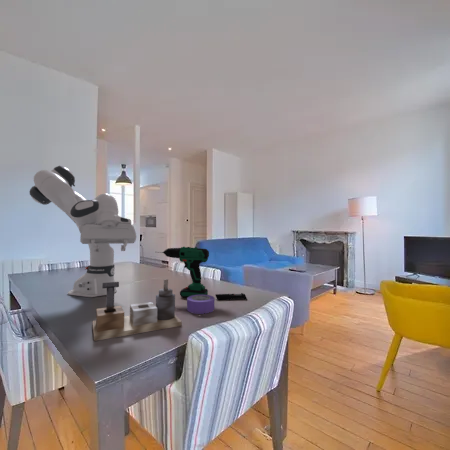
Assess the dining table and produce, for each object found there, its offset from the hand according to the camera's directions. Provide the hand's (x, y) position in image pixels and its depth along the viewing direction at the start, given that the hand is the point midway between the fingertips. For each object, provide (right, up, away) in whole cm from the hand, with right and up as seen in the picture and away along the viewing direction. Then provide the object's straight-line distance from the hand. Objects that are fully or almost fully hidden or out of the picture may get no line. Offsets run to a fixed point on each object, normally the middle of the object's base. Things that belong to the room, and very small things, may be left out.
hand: (110, 250), depth 100 cm
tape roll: (+33, -27, +12) cm, 44 cm away
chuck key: (+5, -22, -11) cm, 25 cm away
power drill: (+21, -26, +32) cm, 46 cm away
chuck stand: (+13, -26, -7) cm, 30 cm away
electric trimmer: (+47, -27, +28) cm, 61 cm away
